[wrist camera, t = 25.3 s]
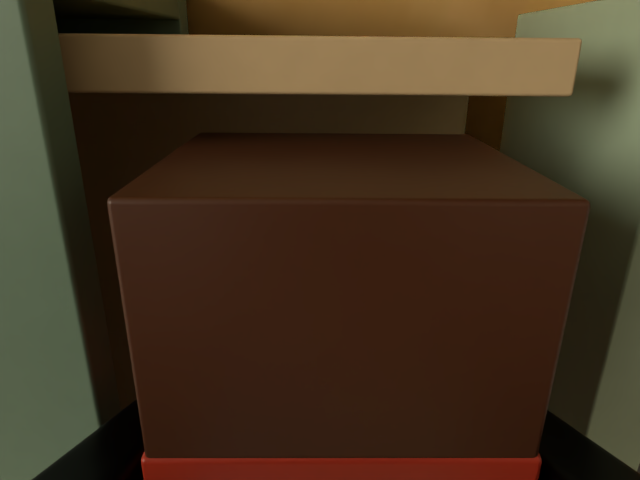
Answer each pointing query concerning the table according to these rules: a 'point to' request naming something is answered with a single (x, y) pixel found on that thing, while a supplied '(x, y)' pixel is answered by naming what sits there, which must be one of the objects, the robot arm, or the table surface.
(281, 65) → the drawer
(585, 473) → the robot arm
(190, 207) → the chocolate bar
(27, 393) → the cabinet
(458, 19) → the table surface
